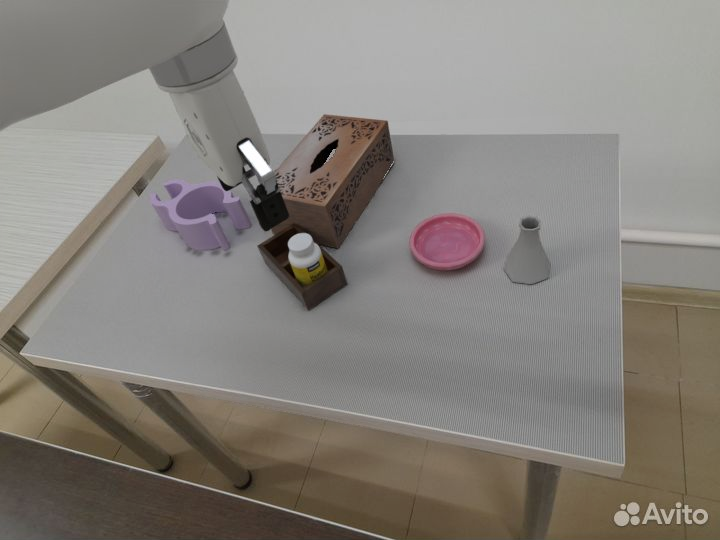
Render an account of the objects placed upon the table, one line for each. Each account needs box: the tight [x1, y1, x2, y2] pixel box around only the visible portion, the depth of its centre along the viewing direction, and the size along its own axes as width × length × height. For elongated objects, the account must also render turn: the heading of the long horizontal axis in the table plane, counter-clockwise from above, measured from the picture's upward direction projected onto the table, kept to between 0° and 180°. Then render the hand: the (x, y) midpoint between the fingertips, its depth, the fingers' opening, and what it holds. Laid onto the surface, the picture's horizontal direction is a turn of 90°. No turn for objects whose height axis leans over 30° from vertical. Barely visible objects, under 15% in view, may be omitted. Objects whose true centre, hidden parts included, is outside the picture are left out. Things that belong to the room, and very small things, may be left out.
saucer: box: [409, 212, 486, 271], centre depth 88 cm, size 12×12×3 cm
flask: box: [503, 215, 551, 285], centre depth 80 cm, size 7×7×10 cm
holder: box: [256, 223, 348, 312], centre depth 91 cm, size 8×15×5 cm, turn 36°
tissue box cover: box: [270, 113, 395, 249], centre depth 101 cm, size 26×14×10 cm, turn 154°
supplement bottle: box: [288, 233, 328, 288], centre depth 86 cm, size 5×5×10 cm
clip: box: [148, 178, 252, 252], centre depth 104 cm, size 20×12×7 cm, turn 58°
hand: (255, 203), depth 58 cm, fingers open, 9 cm apart
